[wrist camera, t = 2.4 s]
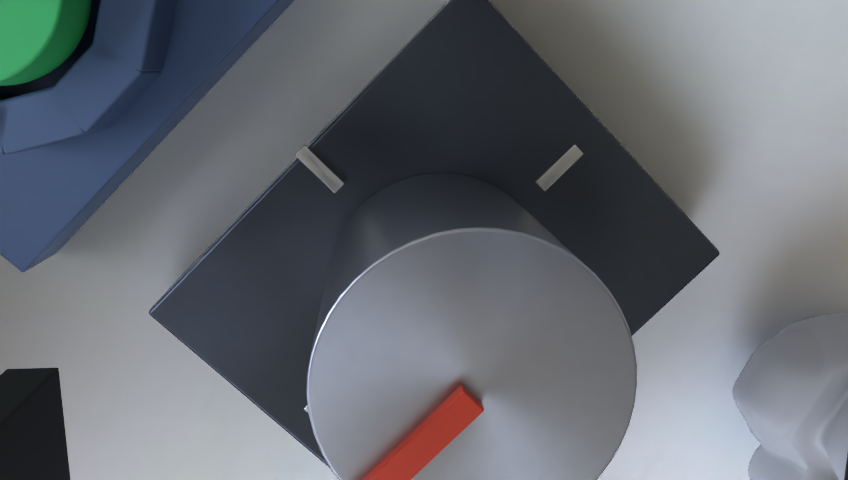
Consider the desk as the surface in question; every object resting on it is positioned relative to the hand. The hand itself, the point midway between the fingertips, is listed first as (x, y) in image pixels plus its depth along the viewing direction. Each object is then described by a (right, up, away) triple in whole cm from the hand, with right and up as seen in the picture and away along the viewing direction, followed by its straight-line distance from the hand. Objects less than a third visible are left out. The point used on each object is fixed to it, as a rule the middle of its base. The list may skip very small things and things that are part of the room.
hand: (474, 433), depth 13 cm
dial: (0, +2, +8) cm, 8 cm away
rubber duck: (+11, -2, +12) cm, 17 cm away
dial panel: (-1, +3, +10) cm, 11 cm away
